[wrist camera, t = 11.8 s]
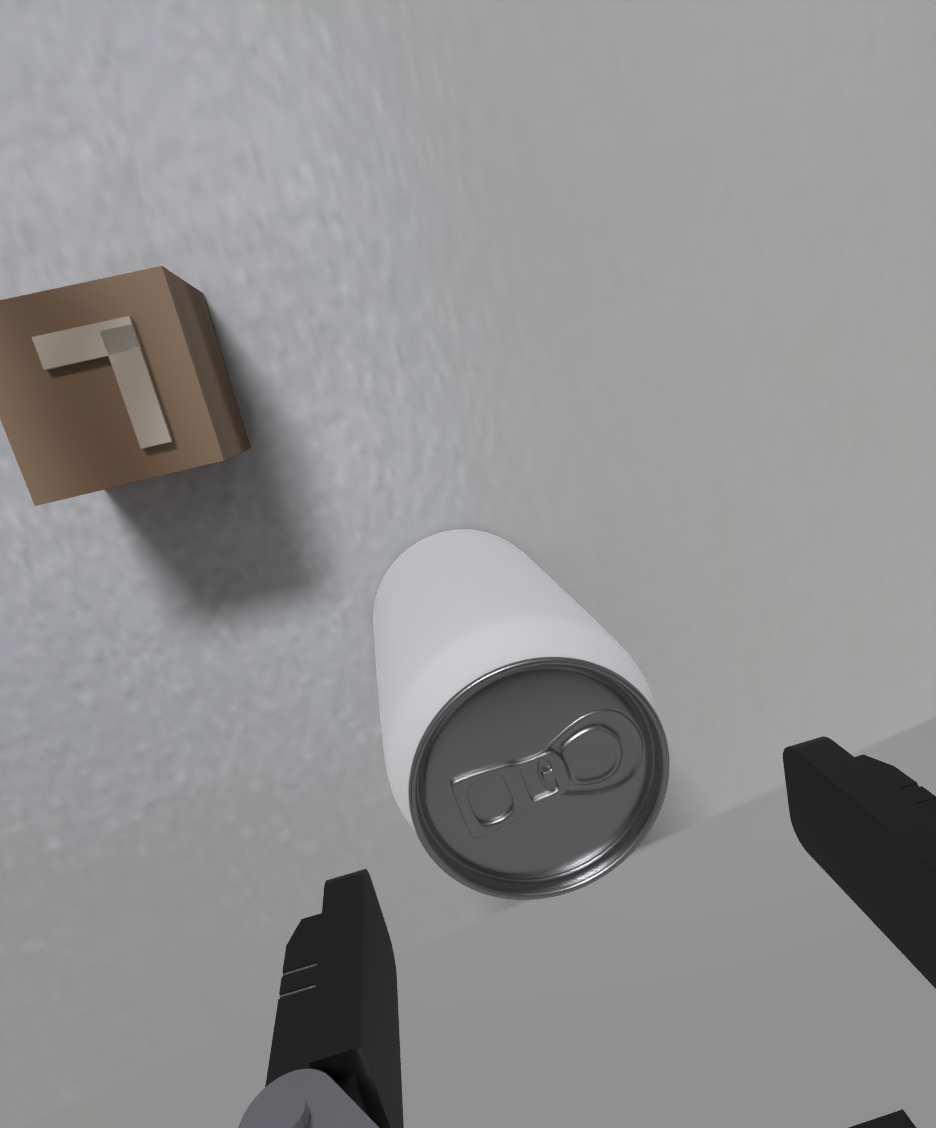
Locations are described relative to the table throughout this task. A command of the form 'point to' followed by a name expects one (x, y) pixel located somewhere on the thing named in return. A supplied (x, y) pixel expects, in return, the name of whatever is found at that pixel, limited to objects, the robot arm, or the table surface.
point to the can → (511, 721)
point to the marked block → (114, 384)
